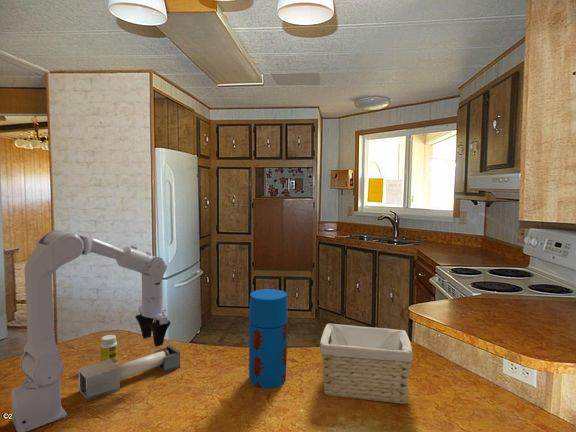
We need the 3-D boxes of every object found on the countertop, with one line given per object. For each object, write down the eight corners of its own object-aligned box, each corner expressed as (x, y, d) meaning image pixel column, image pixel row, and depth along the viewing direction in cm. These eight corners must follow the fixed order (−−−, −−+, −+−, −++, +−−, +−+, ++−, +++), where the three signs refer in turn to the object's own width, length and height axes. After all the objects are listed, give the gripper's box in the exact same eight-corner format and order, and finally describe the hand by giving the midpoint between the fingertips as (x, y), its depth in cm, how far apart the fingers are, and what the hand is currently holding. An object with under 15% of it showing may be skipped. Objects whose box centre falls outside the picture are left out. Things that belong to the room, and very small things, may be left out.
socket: (164, 372, 109) (164, 356, 108) (154, 365, 113) (154, 349, 113) (180, 367, 112) (180, 351, 112) (169, 359, 117) (169, 344, 117)
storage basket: (317, 397, 98) (318, 343, 97) (324, 368, 113) (325, 321, 112) (412, 409, 93) (414, 352, 92) (405, 377, 108) (407, 329, 107)
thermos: (241, 382, 104) (241, 296, 102) (261, 366, 113) (262, 287, 112) (274, 393, 99) (276, 302, 97) (292, 375, 108) (294, 292, 107)
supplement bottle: (110, 368, 111) (110, 340, 111) (97, 366, 112) (96, 339, 112) (120, 360, 116) (120, 334, 115) (107, 359, 117) (107, 333, 116)
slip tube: (115, 384, 100) (115, 369, 100) (110, 378, 103) (109, 364, 102) (170, 364, 111) (170, 351, 111) (163, 360, 114) (163, 347, 114)
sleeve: (87, 401, 94) (87, 377, 93) (79, 390, 98) (78, 368, 98) (119, 389, 99) (119, 367, 99) (110, 380, 104) (109, 359, 104)
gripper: (177, 299, 106) (177, 345, 107) (154, 289, 116) (154, 331, 117) (153, 304, 101) (154, 352, 102) (131, 293, 111) (132, 337, 112)
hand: (152, 341), depth 109 cm, fingers open, 7 cm apart
